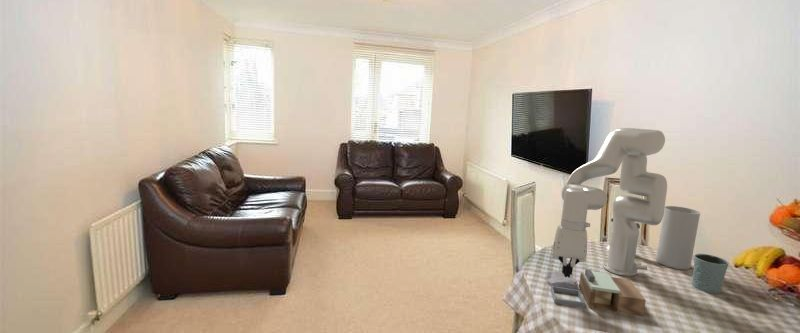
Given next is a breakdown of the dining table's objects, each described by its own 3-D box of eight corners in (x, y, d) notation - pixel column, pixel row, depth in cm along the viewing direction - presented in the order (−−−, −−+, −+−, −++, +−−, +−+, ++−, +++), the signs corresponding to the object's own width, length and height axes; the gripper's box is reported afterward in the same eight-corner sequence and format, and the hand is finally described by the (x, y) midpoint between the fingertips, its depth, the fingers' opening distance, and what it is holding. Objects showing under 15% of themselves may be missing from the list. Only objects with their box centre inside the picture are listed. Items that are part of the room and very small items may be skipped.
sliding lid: (607, 276, 134) (608, 268, 134) (619, 293, 121) (621, 285, 121) (582, 272, 136) (583, 264, 136) (591, 289, 123) (592, 280, 123)
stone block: (550, 296, 135) (580, 294, 133) (549, 283, 135) (578, 281, 133) (544, 282, 147) (571, 281, 145) (543, 270, 147) (570, 269, 145)
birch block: (605, 298, 130) (607, 284, 129) (610, 305, 125) (612, 291, 124) (590, 295, 131) (592, 282, 130) (593, 302, 126) (595, 288, 125)
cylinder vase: (658, 256, 175) (667, 204, 171) (692, 265, 166) (701, 210, 163) (653, 263, 166) (661, 208, 162) (687, 272, 158) (698, 215, 154)
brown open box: (626, 296, 134) (629, 279, 133) (642, 318, 119) (645, 299, 118) (578, 289, 137) (580, 272, 136) (588, 310, 123) (590, 291, 122)
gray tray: (578, 296, 132) (579, 290, 131) (584, 310, 123) (585, 303, 122) (549, 292, 134) (550, 285, 134) (553, 305, 125) (554, 298, 124)
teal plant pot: (719, 286, 146) (724, 257, 144) (726, 297, 137) (732, 266, 135) (686, 279, 151) (692, 251, 149) (692, 290, 142) (697, 260, 140)
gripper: (594, 224, 129) (587, 274, 131) (548, 219, 132) (542, 268, 135) (600, 230, 121) (592, 284, 124) (551, 225, 125) (545, 277, 128)
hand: (566, 275), depth 130 cm, fingers closed
